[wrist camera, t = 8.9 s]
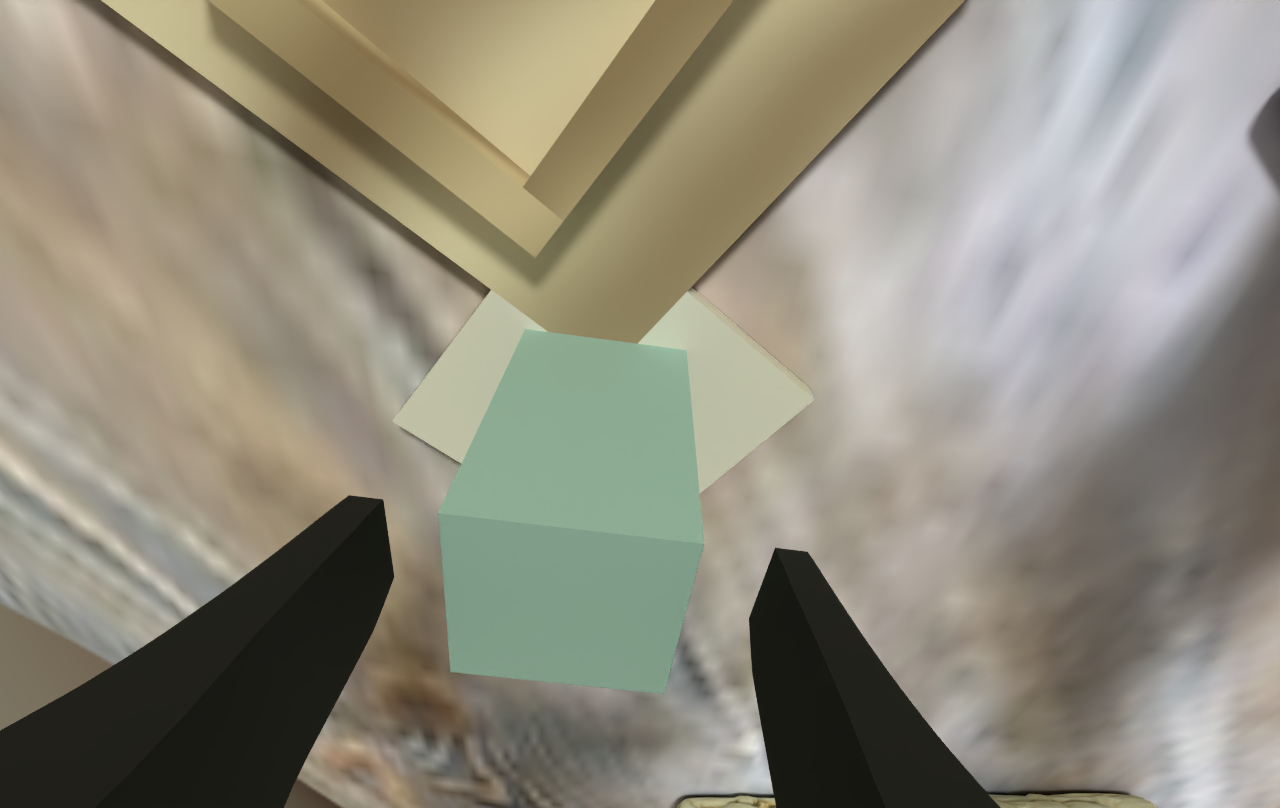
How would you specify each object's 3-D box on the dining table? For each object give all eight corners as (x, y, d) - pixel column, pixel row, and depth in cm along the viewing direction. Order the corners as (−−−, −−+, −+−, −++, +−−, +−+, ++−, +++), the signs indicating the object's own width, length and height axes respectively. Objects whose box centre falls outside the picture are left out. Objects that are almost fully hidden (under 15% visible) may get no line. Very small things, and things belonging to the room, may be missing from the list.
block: (686, 349, 14) (704, 544, 9) (662, 474, 16) (663, 693, 11) (525, 329, 14) (438, 513, 8) (521, 457, 16) (450, 671, 11)
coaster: (809, 387, 15) (814, 400, 15) (620, 546, 19) (618, 559, 18) (570, 183, 13) (566, 188, 12) (400, 409, 16) (392, 421, 16)
